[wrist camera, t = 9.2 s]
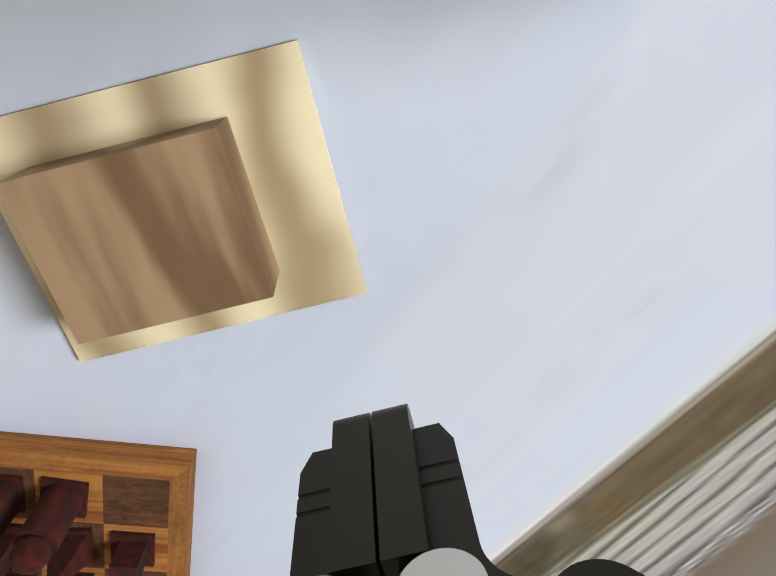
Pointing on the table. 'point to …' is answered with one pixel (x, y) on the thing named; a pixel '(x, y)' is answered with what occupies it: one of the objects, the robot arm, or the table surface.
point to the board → (260, 158)
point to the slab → (145, 230)
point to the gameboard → (94, 507)
